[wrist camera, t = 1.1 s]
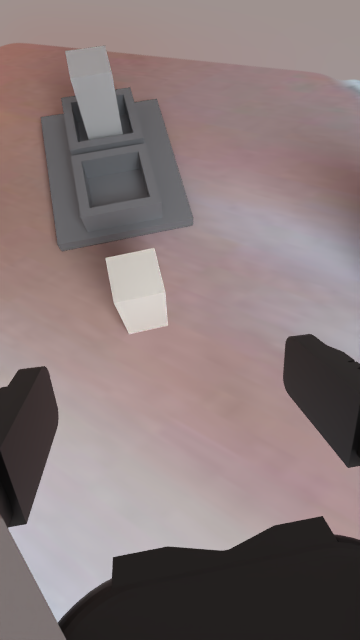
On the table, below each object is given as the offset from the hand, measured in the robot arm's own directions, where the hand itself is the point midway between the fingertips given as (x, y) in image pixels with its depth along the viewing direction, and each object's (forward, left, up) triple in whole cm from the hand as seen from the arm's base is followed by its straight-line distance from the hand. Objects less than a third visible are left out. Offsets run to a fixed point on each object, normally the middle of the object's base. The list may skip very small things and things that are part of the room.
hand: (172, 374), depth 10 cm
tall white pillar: (+1, -13, -26) cm, 29 cm away
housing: (+1, -35, -26) cm, 43 cm away
